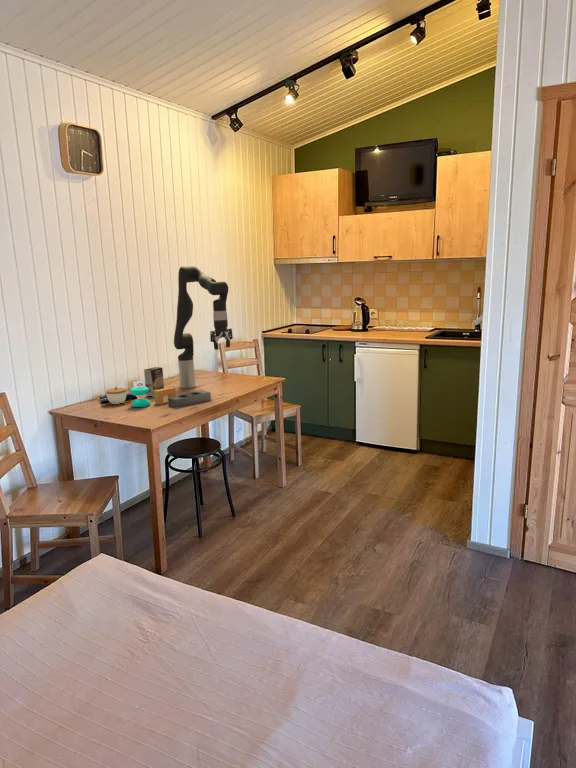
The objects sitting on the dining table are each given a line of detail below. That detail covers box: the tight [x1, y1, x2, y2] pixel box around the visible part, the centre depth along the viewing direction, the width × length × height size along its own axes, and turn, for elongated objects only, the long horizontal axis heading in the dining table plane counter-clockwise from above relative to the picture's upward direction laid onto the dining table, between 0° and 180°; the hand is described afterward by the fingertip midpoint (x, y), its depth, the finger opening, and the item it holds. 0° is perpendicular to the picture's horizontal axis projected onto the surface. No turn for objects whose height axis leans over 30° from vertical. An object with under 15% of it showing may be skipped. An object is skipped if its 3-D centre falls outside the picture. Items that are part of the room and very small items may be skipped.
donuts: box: [129, 385, 151, 408], centre depth 291 cm, size 10×10×10 cm
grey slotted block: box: [167, 389, 212, 409], centre depth 294 cm, size 8×22×4 cm, turn 132°
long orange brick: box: [154, 386, 177, 405], centre depth 297 cm, size 4×11×8 cm, turn 132°
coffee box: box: [143, 366, 165, 398], centre depth 315 cm, size 9×6×16 cm
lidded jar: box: [105, 386, 127, 405], centre depth 299 cm, size 11×11×9 cm
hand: (222, 348), depth 297 cm, fingers open, 8 cm apart
